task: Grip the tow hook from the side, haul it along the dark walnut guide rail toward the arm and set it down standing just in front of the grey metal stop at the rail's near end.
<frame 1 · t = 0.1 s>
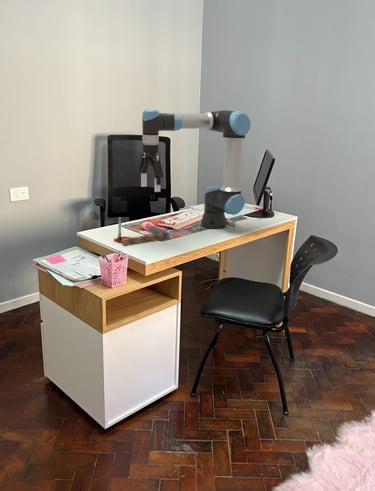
hand: (150, 189, 211), 28 cm above the table, tool pointing down, fingers open, 13 cm apart
guide track: (138, 238, 229), on the table
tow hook: (124, 240, 225), on the table
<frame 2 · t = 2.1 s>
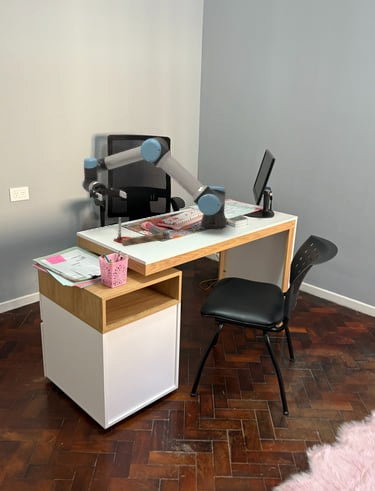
hand: (113, 196, 228), 20 cm above the table, tool horizontal, fingers open, 13 cm apart
nothing on the table moved.
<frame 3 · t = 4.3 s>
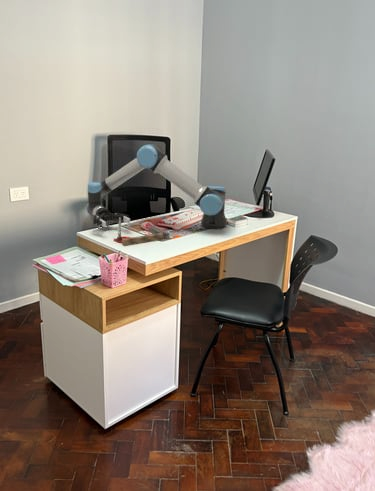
hand: (117, 223, 228), 7 cm above the table, tool horizontal, fingers open, 13 cm apart
nothing on the table moved.
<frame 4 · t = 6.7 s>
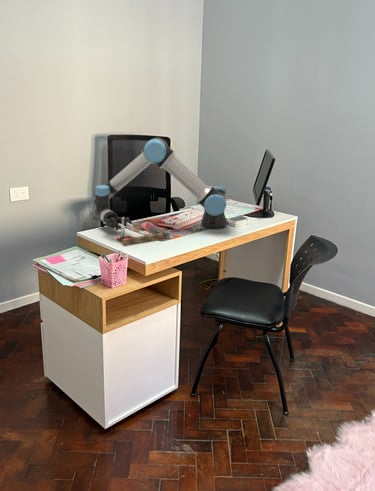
hand: (128, 228, 218), 8 cm above the table, tool horizontal, fingers open, 4 cm apart
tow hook: (127, 240, 225), on the table, touching gripper
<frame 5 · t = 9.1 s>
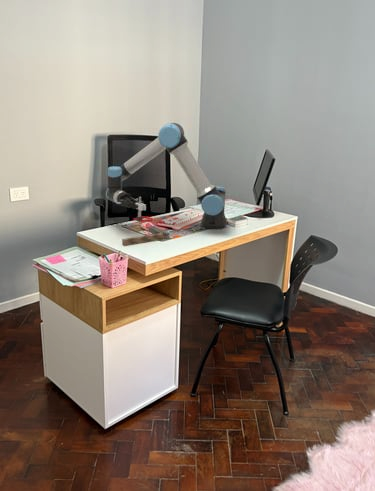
hand: (143, 207, 219), 18 cm above the table, tool horizontal, fingers closed on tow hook
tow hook: (144, 220, 227), point 9 cm above the table, touching gripper
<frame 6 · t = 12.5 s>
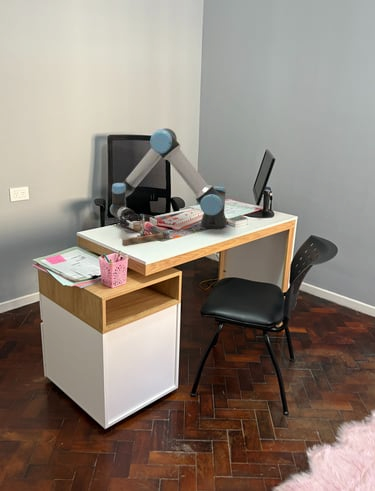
hand: (144, 224, 225), 8 cm above the table, tool horizontal, fingers open, 13 cm apart
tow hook: (147, 237, 231), on the table
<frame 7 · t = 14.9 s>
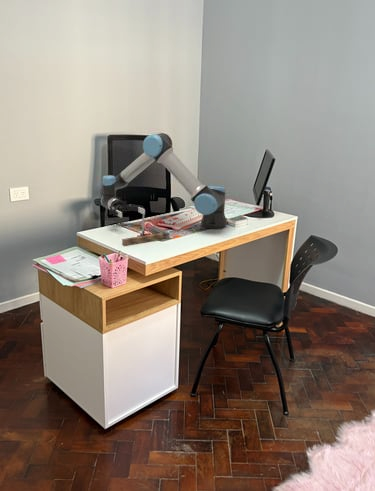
hand: (133, 213, 236), 10 cm above the table, tool horizontal, fingers open, 13 cm apart
nothing on the table moved.
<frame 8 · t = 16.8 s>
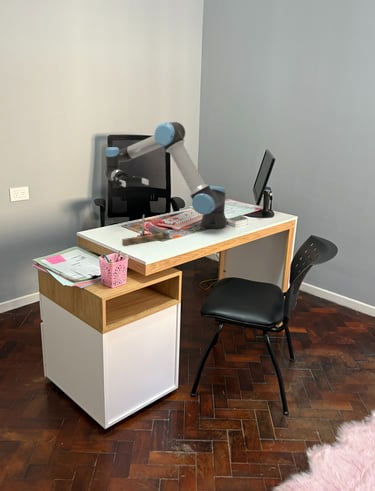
hand: (136, 183, 235), 26 cm above the table, tool horizontal, fingers open, 13 cm apart
nothing on the table moved.
at the end: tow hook inside the target area (2.0 cm from its centre), on the table; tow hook tilted 1°; the gripper is holding nothing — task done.
